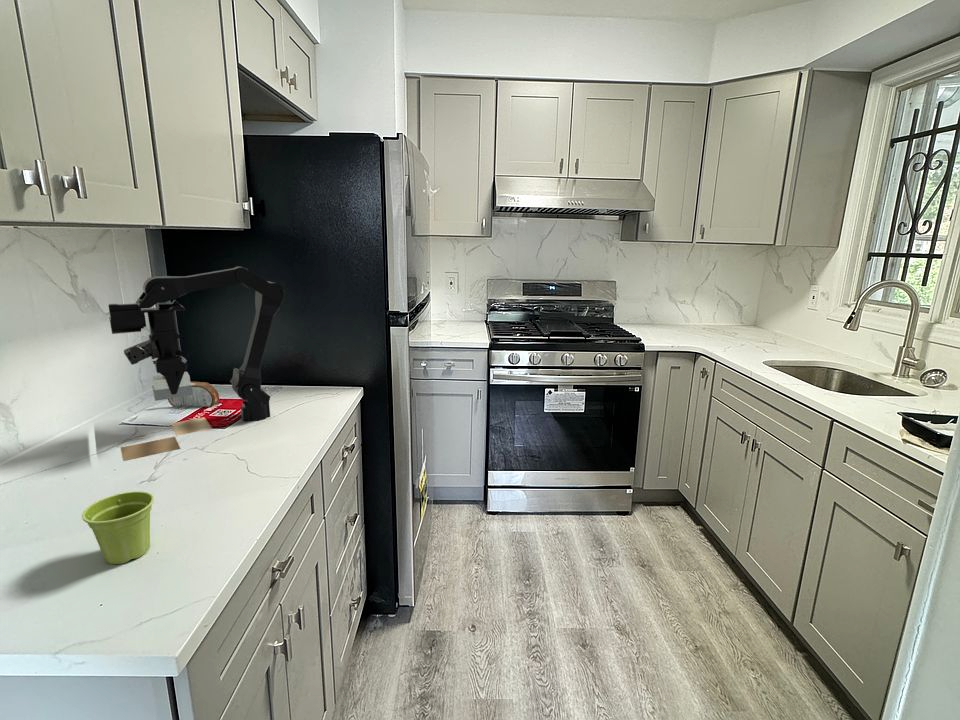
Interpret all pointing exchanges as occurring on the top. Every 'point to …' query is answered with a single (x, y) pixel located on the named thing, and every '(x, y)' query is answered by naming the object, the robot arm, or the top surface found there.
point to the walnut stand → (149, 448)
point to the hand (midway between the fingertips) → (172, 391)
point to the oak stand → (191, 426)
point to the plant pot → (121, 525)
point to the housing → (163, 391)
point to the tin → (198, 396)
